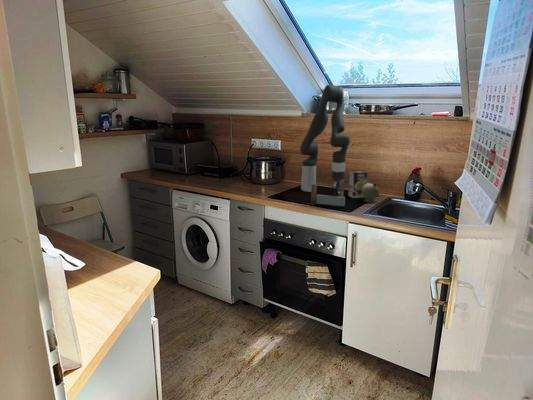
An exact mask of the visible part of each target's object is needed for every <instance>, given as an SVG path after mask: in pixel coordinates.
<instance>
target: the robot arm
mask: <svg viewBox="0 0 533 400" xmlns="http://www.w3.org/2000/svg"><path fill="white" fill-rule="evenodd" d="M344 95H345V94H344V89H343V87H342V86H337V85H332V84H328V85H325V87H324V89H323V91H322V94H321V98H320V101H319V103H318V106H317V109H316V111H315V114H314V116H313V119H312V121H311V123H310V125H309V128H308V130H307V132H306V135H304V139H303V140H302V142H301V144H300V146H299V147H300V148H299V152H300V154H301V155H302V156H308V157H307V158H305V159H304V160H302V162H301V163H302V167H301V171H302V173H301V177H300V178H301V179H300V182H301V183H300V190H301V191H303V192H309V193H311V186H312V184H317V182H316V178H317V162H318V158H319V157H318V156H319V155H318V154H319V144H318V142H317V141H316V140H315V139H316V138H317V137H318V136H319V135H321V134H322V133H323V132H324V131H325V130H326V127H327V125H328V122H329V117H328V112H327V105H328V103H336V108H335V110H334V111H333V113H332V115H331V118H330V121H331V123H330V124H331V135H330V139H329V140H330V141H329V144H330V146H331V147H333V148H341V149H340V150H335V151H334V152H333V153H332V161H331V162H332V164H331V174H330V175H331V179H333V180H334V181H333V185H332V192H333V193H334V196H338V197H339V193H340V192H341V189H342V184H343V182H342V181H343V180H344V179H345V178H346V155H347V151H348V147H349V145H350V139H351V138H350V136H349V135H348V134H347V133H345V134H344V133H343V132H344V131H345V130H346V127H345V120H344V100H345V99H344V98H345V97H344Z"/></svg>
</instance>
